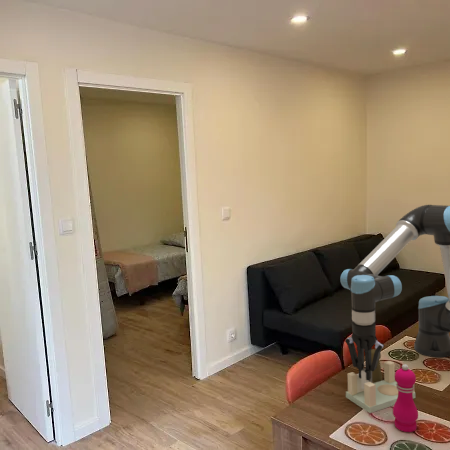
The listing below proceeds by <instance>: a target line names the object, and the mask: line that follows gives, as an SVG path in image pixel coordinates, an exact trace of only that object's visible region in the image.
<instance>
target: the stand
mask: <svg viewBox="0 0 450 450" xmlns="http://www.w3.org/2000/svg"><path fill="white" fill-rule="evenodd" d="M383 367H384V368H383V369H384V370H383V377H384V379H382V381H379V382H372V371H371V379H370V380H369V382H368V383H364V391H362V392H359V393H357V394H355V395H351V394H349V393H348V390H347V391H345V398H346V399H348V400H350V402H352V403H354V404H355V405H357V406H358V407H360V408H362V409H363V410H364V411H366V412H368V413H369V414H372V413H375V412H378V411H381V410H384V409H387V408H390V407H394V404H395V402H396V400H397V398H398V390H397V388H396V387H397V385H396V384H397V382H396V380H395V373H396V371H395V368H396V367H395V362H394V361H391V360H386V361H384V362H383ZM412 395H413V400H414V399H416V392H415V390H414V391H413V394H412Z"/></svg>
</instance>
